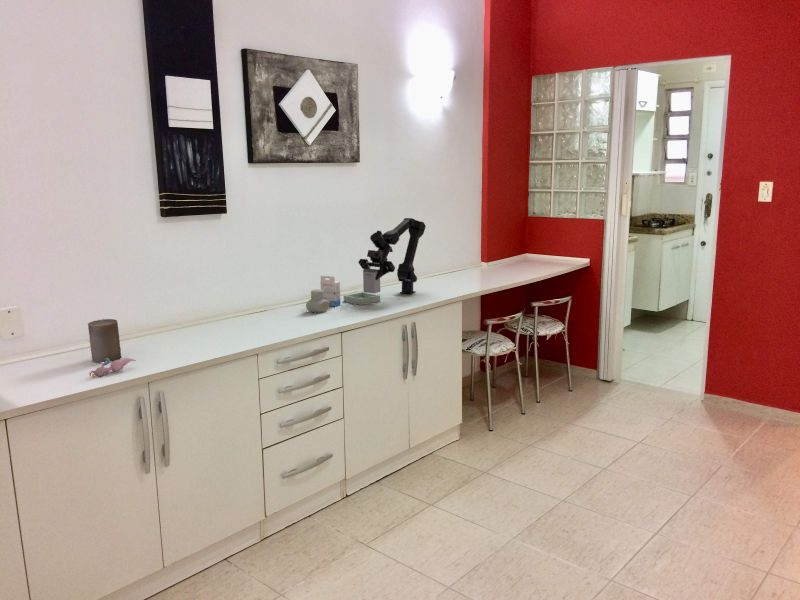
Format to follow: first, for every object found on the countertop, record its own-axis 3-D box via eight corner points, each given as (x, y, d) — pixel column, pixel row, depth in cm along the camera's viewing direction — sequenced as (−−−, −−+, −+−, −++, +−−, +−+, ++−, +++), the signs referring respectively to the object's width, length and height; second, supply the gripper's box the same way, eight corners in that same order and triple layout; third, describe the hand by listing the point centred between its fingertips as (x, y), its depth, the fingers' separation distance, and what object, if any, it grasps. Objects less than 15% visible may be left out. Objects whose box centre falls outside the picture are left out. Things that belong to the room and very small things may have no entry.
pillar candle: (124, 354, 242) (120, 314, 239) (117, 362, 233) (113, 320, 230) (96, 356, 241) (91, 316, 238) (88, 364, 232) (83, 322, 229)
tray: (362, 297, 342) (362, 291, 341) (380, 301, 333) (380, 295, 332) (343, 301, 333) (343, 295, 332) (360, 305, 324) (360, 299, 323)
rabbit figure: (96, 383, 215) (140, 366, 225) (92, 367, 213) (135, 350, 223) (88, 379, 219) (131, 362, 229) (83, 363, 217) (127, 346, 227)
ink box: (341, 305, 325) (340, 275, 322) (335, 307, 320) (334, 276, 317) (326, 303, 329) (325, 274, 326) (320, 305, 324) (319, 275, 321)
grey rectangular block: (369, 290, 330) (368, 268, 328) (380, 291, 327) (379, 269, 324) (362, 292, 325) (361, 270, 323) (373, 293, 322) (372, 271, 319)
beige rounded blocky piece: (317, 314, 304) (316, 293, 302) (303, 312, 309) (302, 291, 307) (332, 310, 313) (331, 289, 311) (318, 308, 318) (317, 287, 316)
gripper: (359, 242, 330) (347, 267, 323) (391, 244, 320) (379, 270, 313) (369, 256, 338) (357, 281, 331) (400, 258, 328) (388, 284, 321)
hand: (370, 279), depth 324 cm, fingers closed on grey rectangular block, 7 cm apart
